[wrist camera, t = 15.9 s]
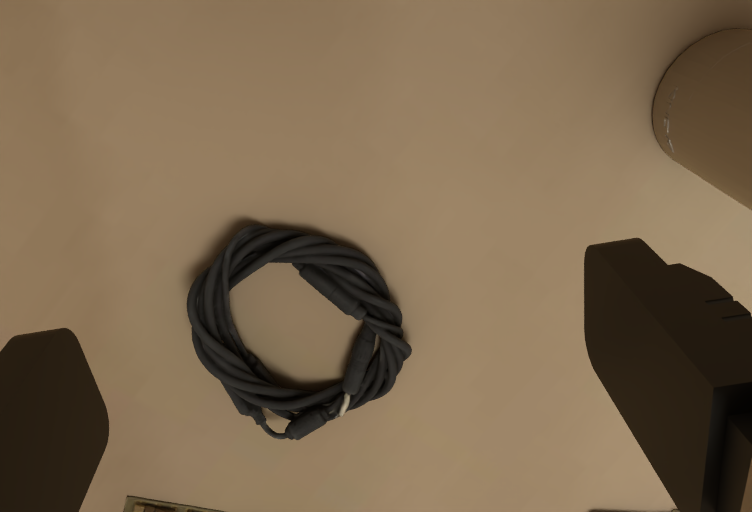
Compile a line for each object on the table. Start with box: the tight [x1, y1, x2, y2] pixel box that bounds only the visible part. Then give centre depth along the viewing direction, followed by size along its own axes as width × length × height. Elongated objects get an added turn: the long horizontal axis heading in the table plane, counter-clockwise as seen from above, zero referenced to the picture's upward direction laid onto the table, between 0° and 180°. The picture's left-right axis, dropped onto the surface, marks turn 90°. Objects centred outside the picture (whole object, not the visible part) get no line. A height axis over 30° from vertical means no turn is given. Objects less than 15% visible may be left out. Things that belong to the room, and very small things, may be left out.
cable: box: [187, 225, 412, 440], centre depth 47 cm, size 17×14×4 cm
